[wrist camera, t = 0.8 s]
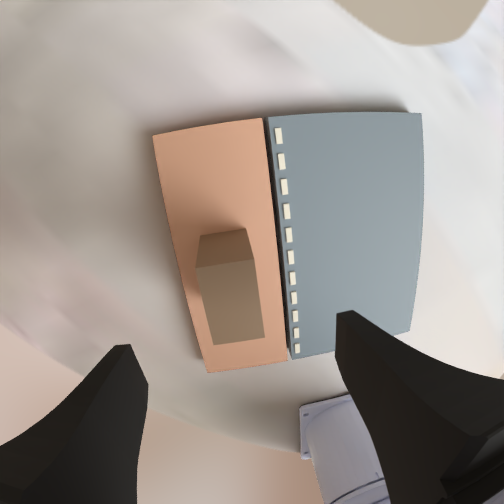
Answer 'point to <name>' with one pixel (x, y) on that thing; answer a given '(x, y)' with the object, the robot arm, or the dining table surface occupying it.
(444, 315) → the dining table surface
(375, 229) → the board
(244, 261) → the stub
